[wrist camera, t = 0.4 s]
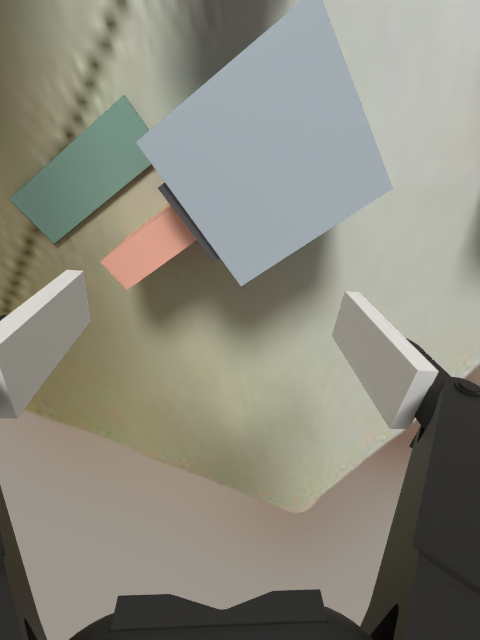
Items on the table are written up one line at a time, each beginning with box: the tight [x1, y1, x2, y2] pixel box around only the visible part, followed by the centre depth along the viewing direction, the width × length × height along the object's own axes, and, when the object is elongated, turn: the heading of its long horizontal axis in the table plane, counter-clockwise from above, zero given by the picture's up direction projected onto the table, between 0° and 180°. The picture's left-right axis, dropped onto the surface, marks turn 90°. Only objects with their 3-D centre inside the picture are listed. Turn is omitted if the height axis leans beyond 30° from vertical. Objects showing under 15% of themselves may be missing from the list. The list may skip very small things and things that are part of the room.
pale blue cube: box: [136, 0, 393, 286], centre depth 28 cm, size 13×15×14 cm
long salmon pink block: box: [100, 204, 196, 290], centre depth 32 cm, size 4×16×10 cm, turn 124°
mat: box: [9, 95, 151, 244], centre depth 33 cm, size 6×17×1 cm, turn 124°
